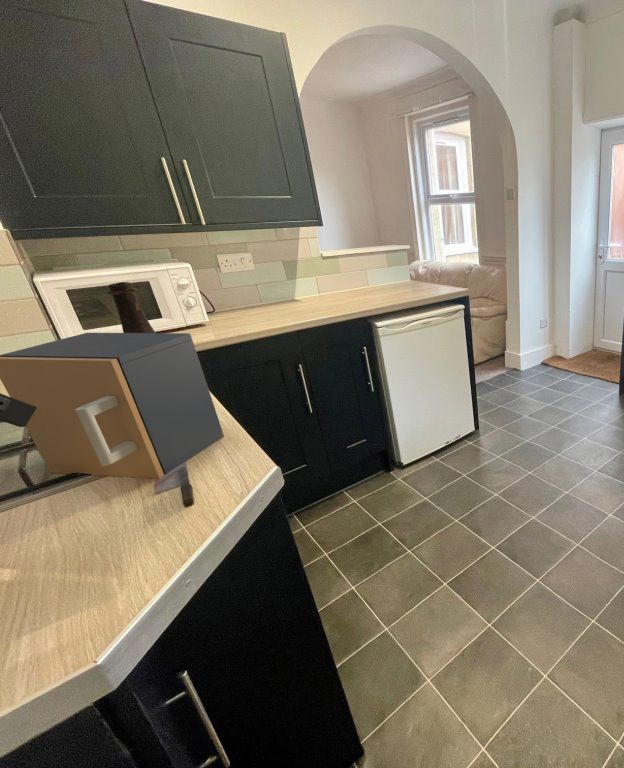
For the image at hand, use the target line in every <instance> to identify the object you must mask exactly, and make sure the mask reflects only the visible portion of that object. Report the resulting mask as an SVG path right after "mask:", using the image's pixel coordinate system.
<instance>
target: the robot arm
mask: <svg viewBox="0 0 624 768" xmlns="http://www.w3.org/2000/svg"><path fill="white" fill-rule="evenodd" d="M36 408H37V407H35V406H33V405H30V404H27V403H25V402H22V401H19V400H17V399H14V398H11V397H10V396H9V395H6V394H3V393H1V392H0V422H4V423H7V424H9V425H12V426H15V427H19V428H26V425H27V423H28V421H29V420H30V418H31V417H32V415H33V413H34V412H35V410H36Z"/></svg>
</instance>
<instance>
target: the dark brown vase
mask: <svg viewBox="0 0 624 768" xmlns="http://www.w3.org/2000/svg"><path fill="white" fill-rule="evenodd" d="M108 287H109V291H107V292H106V294H107V295H111V296H112V298H113V301H114V304H115V308H116V310H117V313H118V317H119V320H120V324H121V328H122V333H157V332H156V331H155V329H154V327H152V325H151V323H150V322H149V319H148V318H147V316H146V314H145V312H144V310H143V308H142V306H141V303H140V302H139V300H138V298H137V295H136V292H137V291H139V289H138V288H135V287H133V283H132V282H129V281H121V282H115V283H110V284H108Z"/></svg>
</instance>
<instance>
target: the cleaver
mask: <svg viewBox="0 0 624 768" xmlns="http://www.w3.org/2000/svg"><path fill="white" fill-rule="evenodd" d="M188 465H189V464H188V463H187V462H185V463H183V464H181V465H179V466H178V467H176V468H175V469H173V470H172V471H170V472H169V473H167V474H164V476H163V477H161V478H160V479H154V494H155V495H156V494H159V493H164V492H166V491H170V490H173V489H177V488H180V492H181V499H182V504H183V506H184V507H185V508H188V507H189V506H194V504H195V498H194V493H193V492H194V491H193V485H192V484H191V483H190V477H189V471H188V470H189V469H188Z"/></svg>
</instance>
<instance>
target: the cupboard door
mask: <svg viewBox="0 0 624 768" xmlns="http://www.w3.org/2000/svg"><path fill="white" fill-rule="evenodd" d="M0 382H1V383H2V385H3V387H4V388H5V390H6V392H7V394H8V396H9V397H11V398H14V399H17V400H19V401H22V402H25V403H27V404H30V405H33V406H35V407H37V408H36V410H35V412H34V413H33V415H32V417H31V418H30V420H29V421H28V423H27V425H26V426H25V428H26V430H27V432H28V434H29V436H30V437H31V439H32V441H33V443H34V445H35V446H36V449H37V451H38V452H39V454H40V456H41V458H42V460H43V462H44V464H45V465H46V468H47V469H48V471H49V472H50V474H65V475H72V474H71V473H77V472H79V473H84V474H91V475H90V476H100V477H119V478H136V479H137V478H139V479H154V480H155V479H160V478H161V477H163V476H164V473H163V471H162V468H161V466H160V464H159V461H158V459H157V456H156V454H155V451H154V449H153V446H152V444H151V442H150V439H149V437H148V434H147V432H146V429H145V427H144V424H143V422H142V420H141V417H140V415H139V412H138V410H137V407H136V405H135V402H134V400H133V398H132V395H131V393H130V390H129V388H128V385H127V383H126V380H125V378H124V376H123V373H122V371H121V368H120V366H119V363H118V361H117V359H97V358H38V357H0Z"/></svg>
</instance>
